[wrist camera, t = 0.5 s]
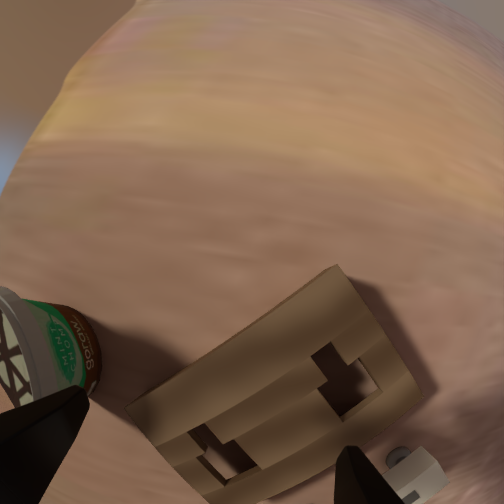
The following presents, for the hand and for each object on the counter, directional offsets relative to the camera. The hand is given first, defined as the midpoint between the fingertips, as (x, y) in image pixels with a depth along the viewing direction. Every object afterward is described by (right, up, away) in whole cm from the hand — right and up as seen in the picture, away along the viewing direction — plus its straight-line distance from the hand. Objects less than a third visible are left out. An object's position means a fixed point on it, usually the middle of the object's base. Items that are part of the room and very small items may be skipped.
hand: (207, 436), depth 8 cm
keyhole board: (+3, -6, +13) cm, 14 cm away
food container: (-14, -2, +14) cm, 20 cm away
